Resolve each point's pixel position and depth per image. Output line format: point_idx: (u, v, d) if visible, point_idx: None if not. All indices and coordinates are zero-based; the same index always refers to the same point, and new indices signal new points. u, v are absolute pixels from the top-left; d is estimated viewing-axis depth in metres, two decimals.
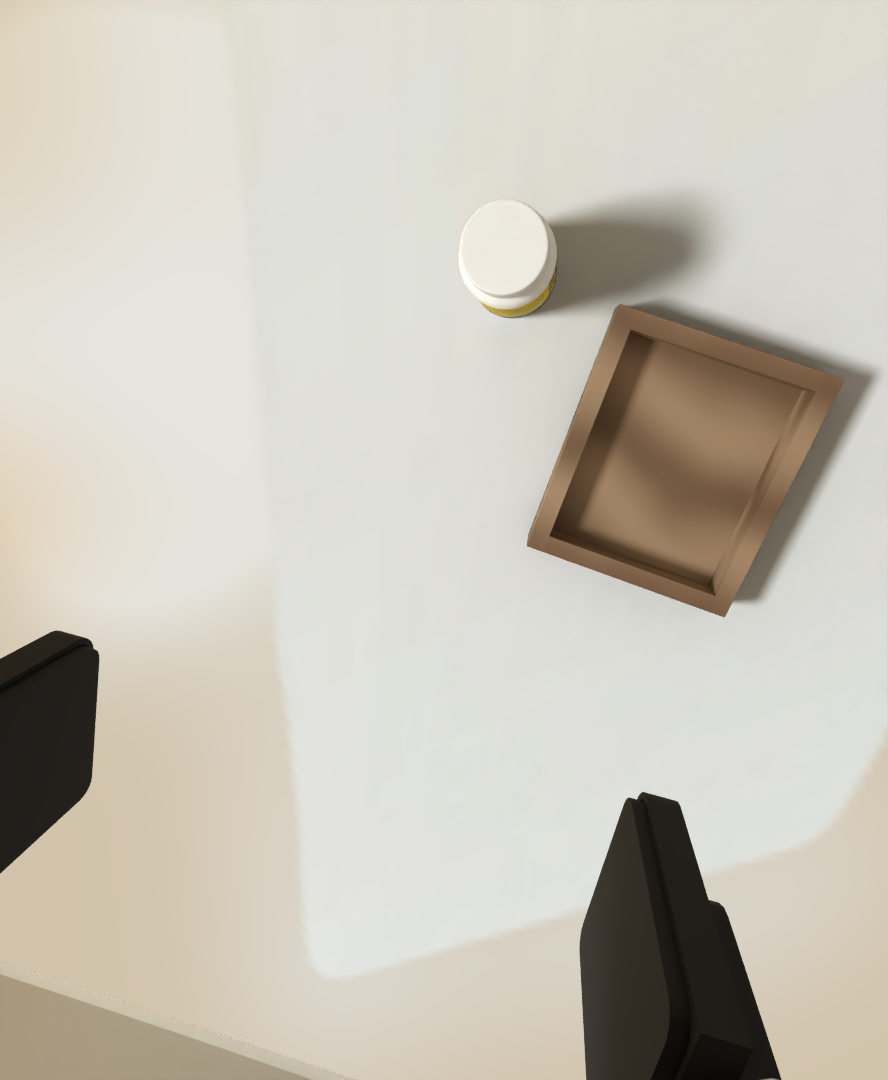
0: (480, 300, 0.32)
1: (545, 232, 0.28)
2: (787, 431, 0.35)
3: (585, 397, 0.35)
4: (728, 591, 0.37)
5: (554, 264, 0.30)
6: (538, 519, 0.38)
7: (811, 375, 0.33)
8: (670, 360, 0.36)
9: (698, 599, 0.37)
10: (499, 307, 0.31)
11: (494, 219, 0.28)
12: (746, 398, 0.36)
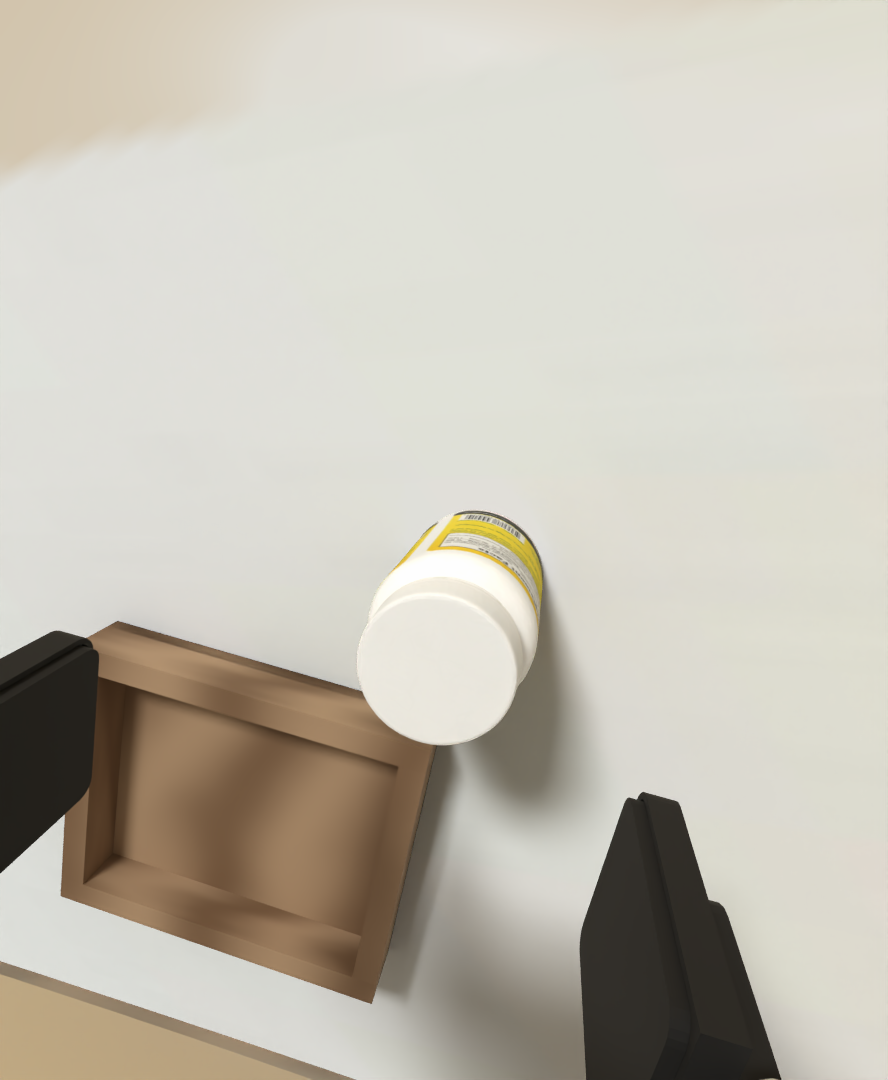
0: (375, 596, 0.18)
1: (465, 740, 0.16)
2: (309, 934, 0.27)
3: (296, 713, 0.23)
4: (92, 898, 0.27)
5: None
6: (115, 658, 0.24)
7: (370, 971, 0.26)
8: (379, 793, 0.26)
9: (72, 865, 0.27)
10: None
11: (479, 655, 0.15)
12: (346, 881, 0.27)
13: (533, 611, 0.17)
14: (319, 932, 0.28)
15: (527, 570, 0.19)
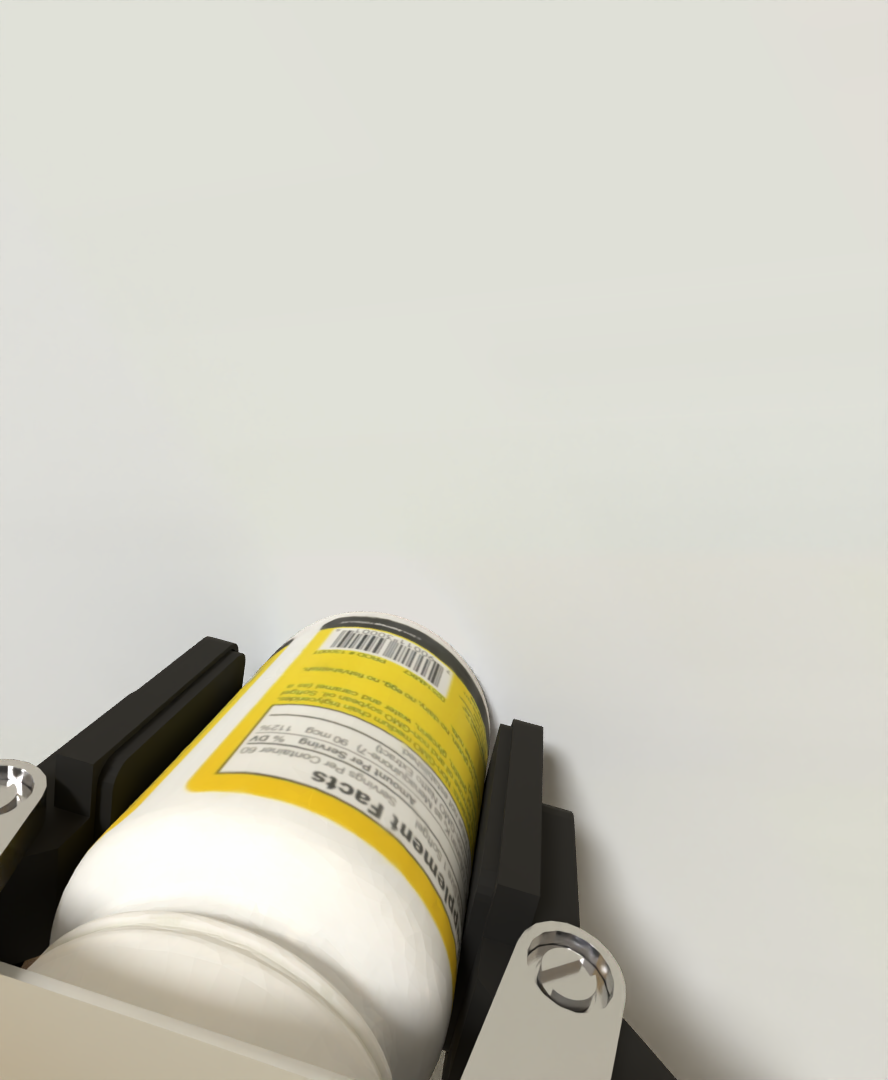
0: (63, 894, 0.07)
1: None
2: None
3: None
4: None
5: None
6: None
7: None
8: None
9: None
10: None
11: None
12: None
13: (438, 945, 0.07)
14: None
15: (440, 789, 0.09)
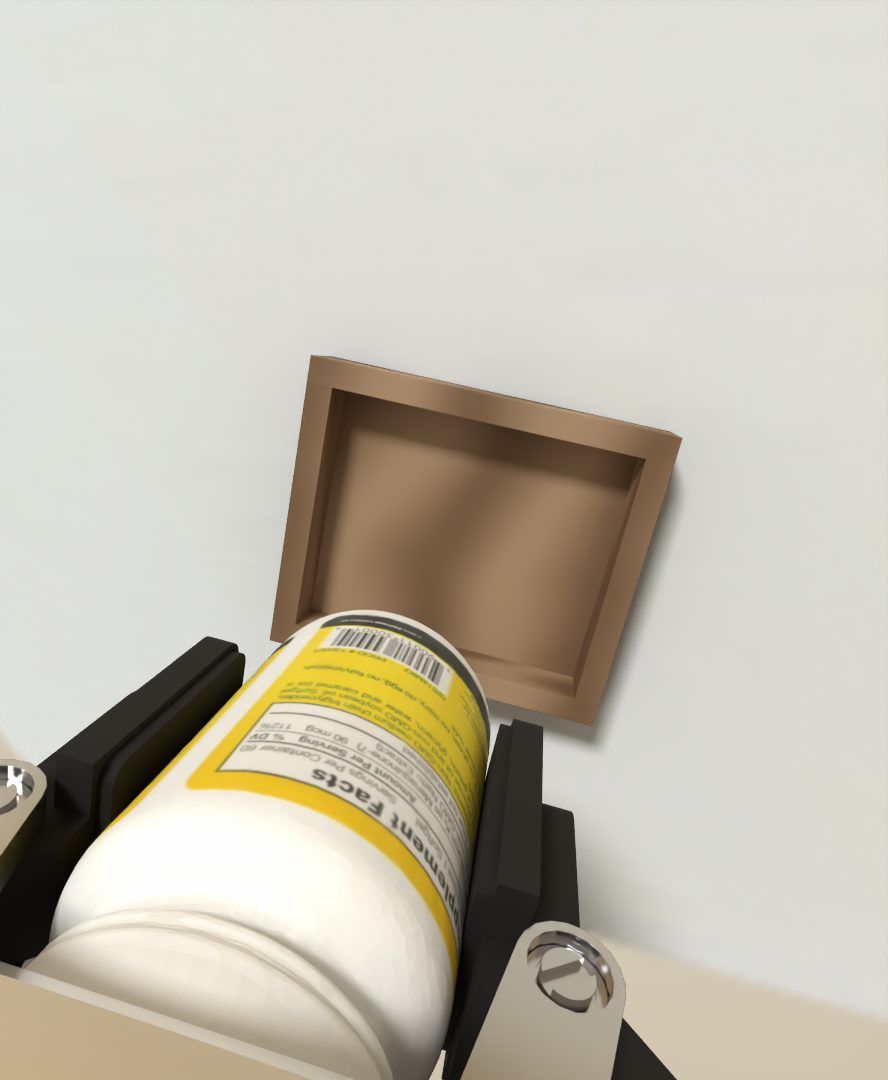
0: None
1: None
2: (520, 671, 0.28)
3: (544, 409, 0.24)
4: None
5: None
6: (354, 367, 0.24)
7: (594, 690, 0.26)
8: (601, 516, 0.26)
9: (286, 604, 0.27)
10: None
11: None
12: (557, 617, 0.28)
13: (438, 943, 0.07)
14: (528, 670, 0.28)
15: (441, 787, 0.09)
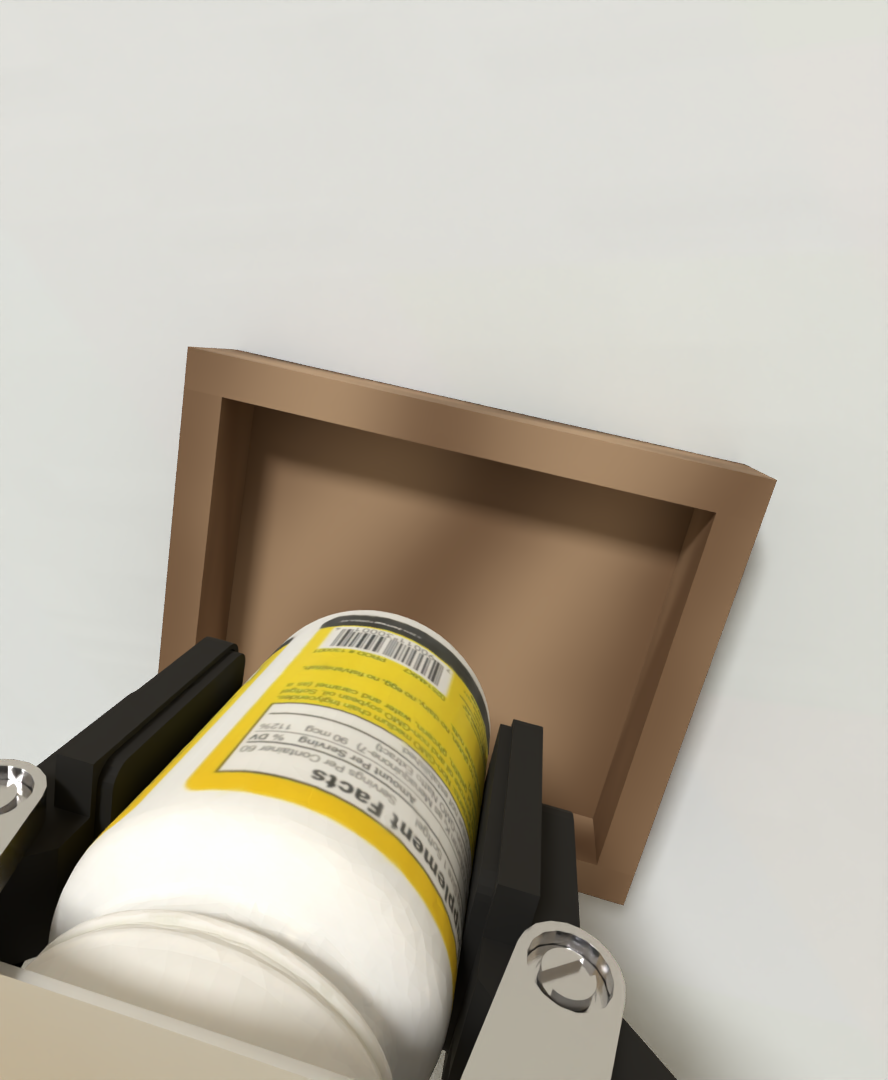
0: (62, 893, 0.07)
1: None
2: None
3: (552, 432, 0.15)
4: None
5: None
6: (254, 365, 0.16)
7: (627, 855, 0.17)
8: (638, 592, 0.17)
9: None
10: None
11: None
12: (571, 734, 0.19)
13: (438, 944, 0.07)
14: None
15: (440, 787, 0.09)
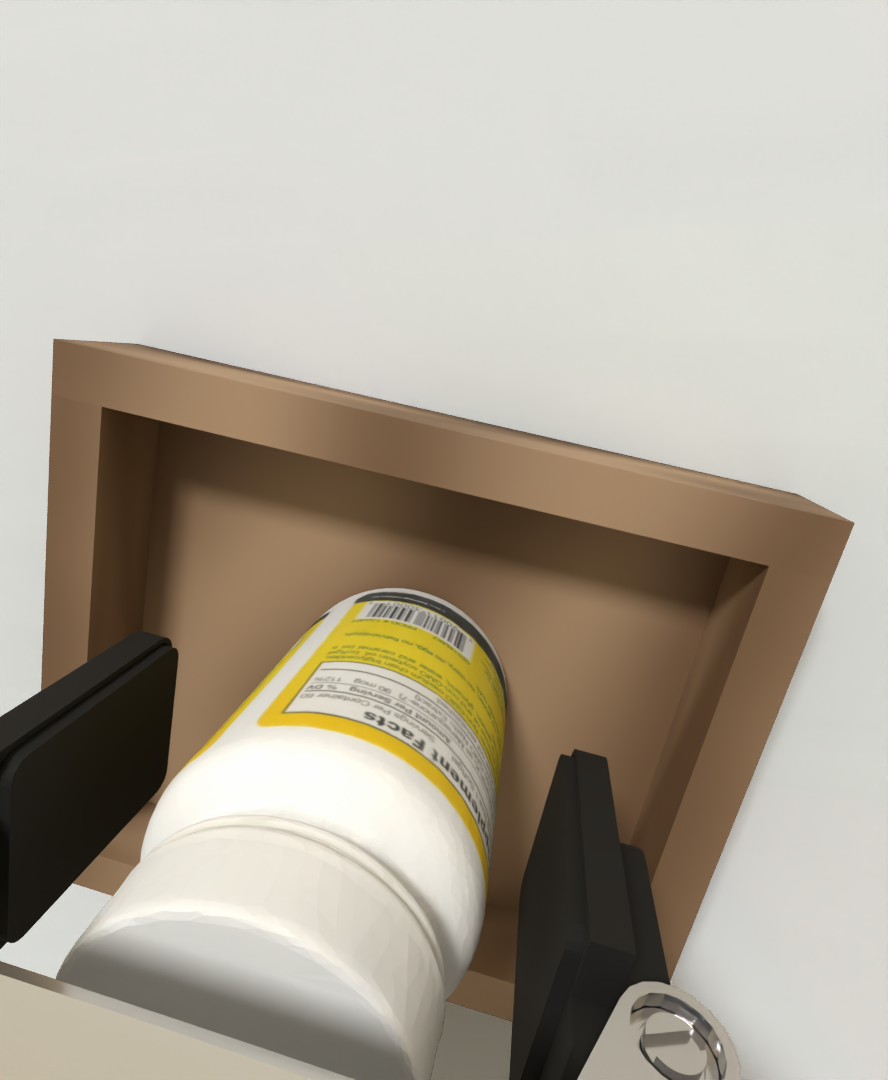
0: (151, 816, 0.09)
1: None
2: (500, 932, 0.15)
3: (544, 456, 0.11)
4: (94, 874, 0.15)
5: None
6: (142, 363, 0.12)
7: None
8: (656, 658, 0.13)
9: None
10: None
11: (327, 1052, 0.06)
12: None
13: (474, 855, 0.08)
14: (515, 927, 0.15)
15: (470, 734, 0.10)
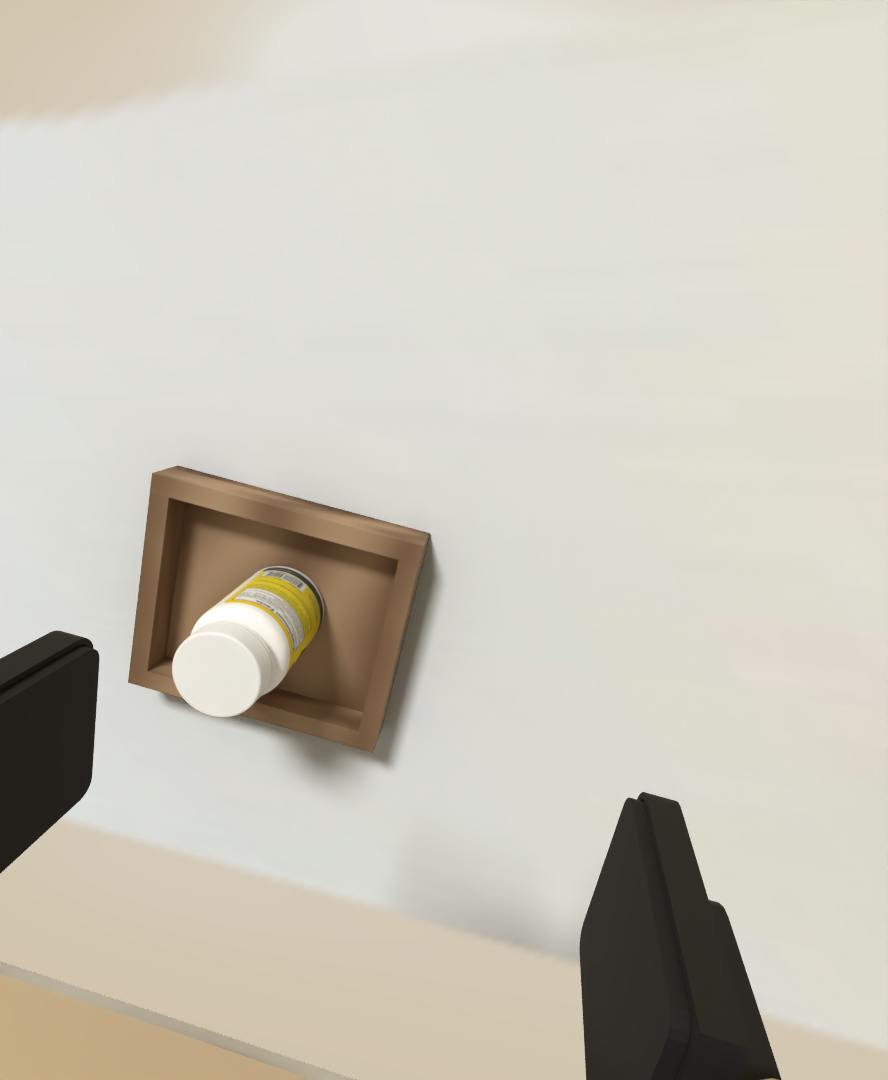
0: None
1: (234, 714, 0.28)
2: (324, 708, 0.36)
3: (324, 521, 0.32)
4: (154, 682, 0.36)
5: None
6: (184, 483, 0.32)
7: (372, 726, 0.35)
8: (380, 594, 0.35)
9: (139, 656, 0.35)
10: None
11: (239, 666, 0.27)
12: (353, 668, 0.36)
13: (285, 639, 0.29)
14: (331, 708, 0.36)
15: (293, 611, 0.31)
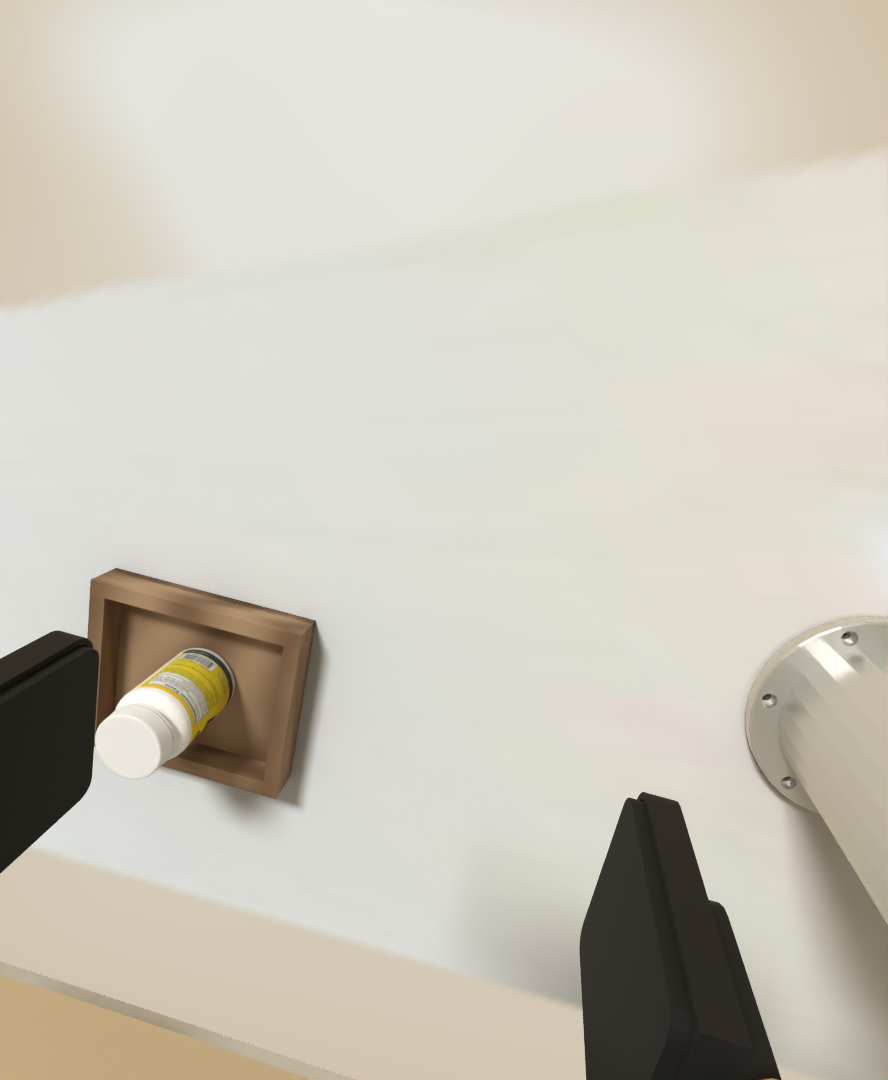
0: (116, 707, 0.38)
1: (143, 777, 0.36)
2: (238, 762, 0.44)
3: (224, 616, 0.40)
4: None
5: None
6: (116, 587, 0.41)
7: (273, 777, 0.42)
8: (278, 670, 0.43)
9: None
10: None
11: (143, 740, 0.35)
12: (261, 728, 0.44)
13: (186, 715, 0.37)
14: (245, 761, 0.44)
15: (198, 690, 0.39)
